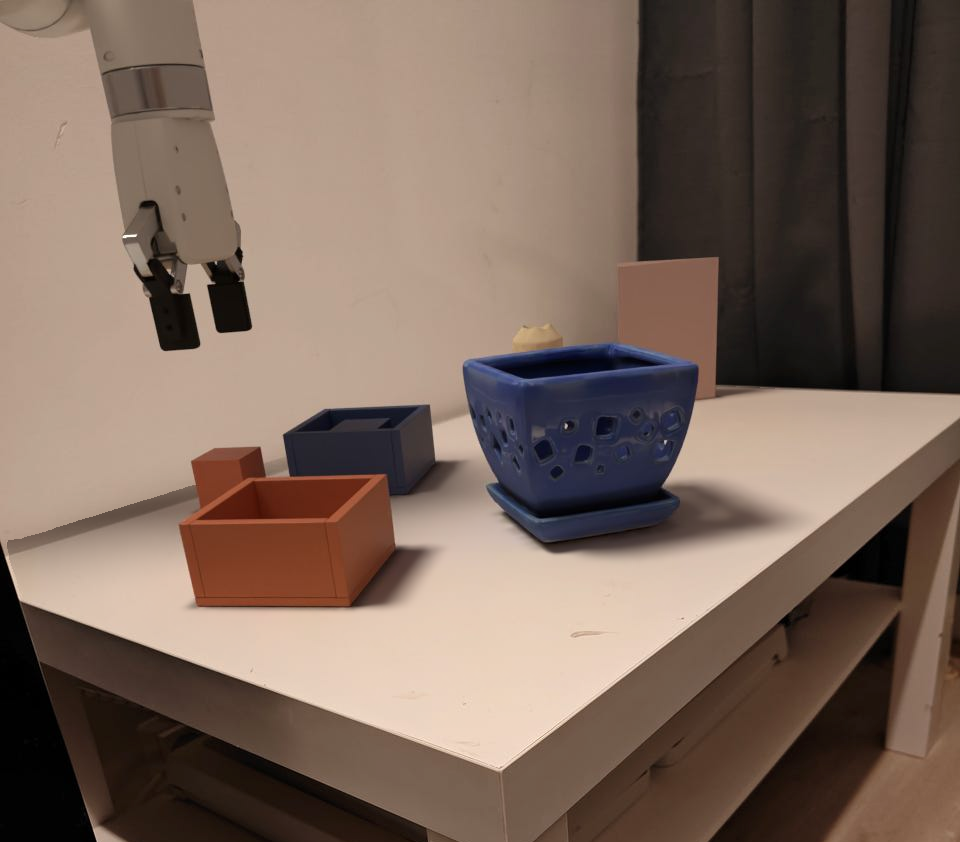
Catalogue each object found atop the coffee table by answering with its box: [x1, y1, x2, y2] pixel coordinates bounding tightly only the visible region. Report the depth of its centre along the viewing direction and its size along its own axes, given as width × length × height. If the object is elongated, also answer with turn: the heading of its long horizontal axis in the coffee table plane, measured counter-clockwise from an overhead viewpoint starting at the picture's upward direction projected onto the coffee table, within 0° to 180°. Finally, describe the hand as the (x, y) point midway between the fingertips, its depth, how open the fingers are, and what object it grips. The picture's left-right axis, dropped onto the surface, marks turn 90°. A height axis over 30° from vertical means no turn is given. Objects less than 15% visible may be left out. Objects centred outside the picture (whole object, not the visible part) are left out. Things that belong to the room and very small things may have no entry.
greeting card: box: [616, 256, 720, 400], centre depth 105 cm, size 11×7×15 cm, turn 65°
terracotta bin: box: [178, 474, 397, 607], centre depth 63 cm, size 11×11×6 cm
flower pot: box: [462, 342, 699, 544], centre depth 68 cm, size 13×13×12 cm
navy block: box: [329, 418, 392, 431], centre depth 86 cm, size 4×4×4 cm
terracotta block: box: [190, 446, 267, 510], centre depth 82 cm, size 4×4×4 cm
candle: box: [511, 323, 564, 353], centre depth 103 cm, size 6×6×10 cm
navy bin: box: [282, 404, 437, 496], centre depth 86 cm, size 11×11×6 cm
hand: (209, 340), depth 77 cm, fingers open, 9 cm apart
